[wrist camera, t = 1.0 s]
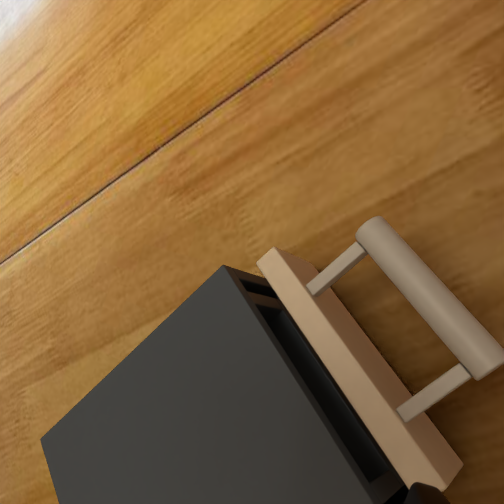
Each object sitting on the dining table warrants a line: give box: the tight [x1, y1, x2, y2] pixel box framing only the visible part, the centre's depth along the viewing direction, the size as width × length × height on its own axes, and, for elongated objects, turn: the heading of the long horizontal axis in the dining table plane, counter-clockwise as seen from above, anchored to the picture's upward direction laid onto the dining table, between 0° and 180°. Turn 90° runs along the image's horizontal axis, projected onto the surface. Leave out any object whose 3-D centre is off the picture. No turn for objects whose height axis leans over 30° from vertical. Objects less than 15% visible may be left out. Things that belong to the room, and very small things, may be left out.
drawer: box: [247, 216, 504, 504], centre depth 21 cm, size 18×11×4 cm, turn 126°
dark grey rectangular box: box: [40, 265, 409, 504], centre depth 22 cm, size 14×12×6 cm
